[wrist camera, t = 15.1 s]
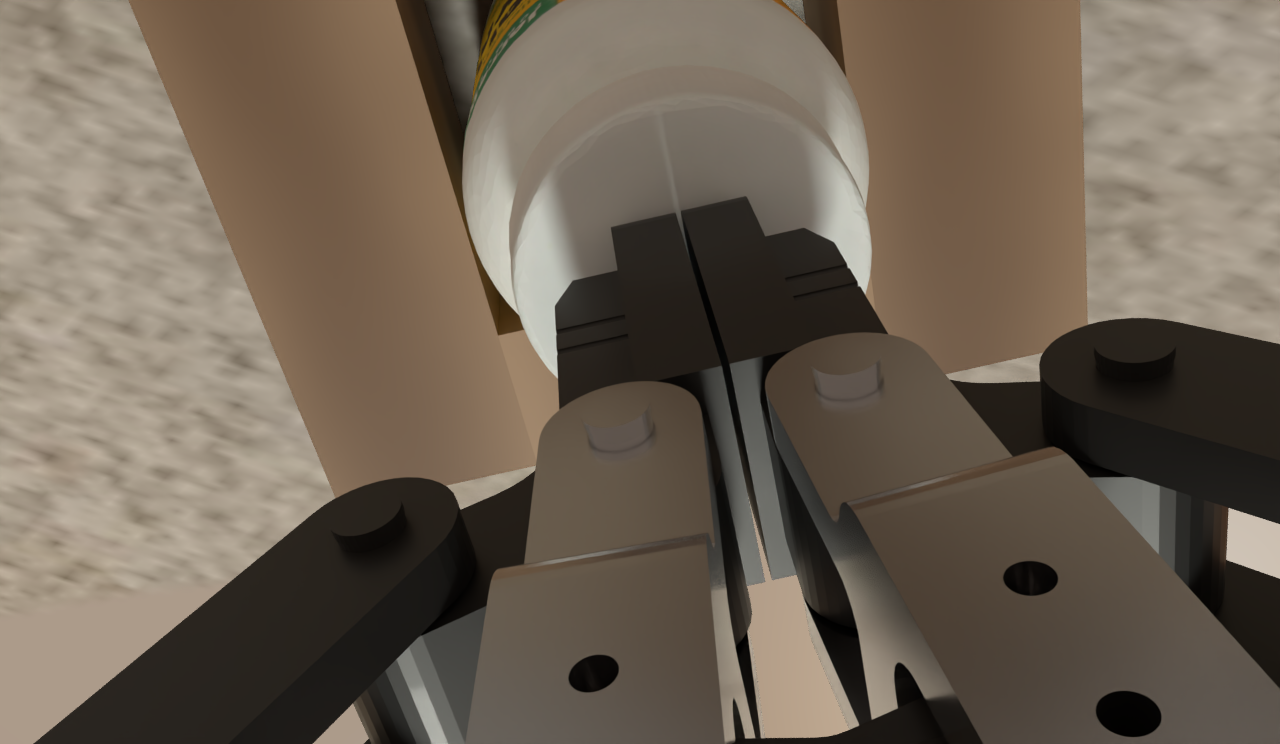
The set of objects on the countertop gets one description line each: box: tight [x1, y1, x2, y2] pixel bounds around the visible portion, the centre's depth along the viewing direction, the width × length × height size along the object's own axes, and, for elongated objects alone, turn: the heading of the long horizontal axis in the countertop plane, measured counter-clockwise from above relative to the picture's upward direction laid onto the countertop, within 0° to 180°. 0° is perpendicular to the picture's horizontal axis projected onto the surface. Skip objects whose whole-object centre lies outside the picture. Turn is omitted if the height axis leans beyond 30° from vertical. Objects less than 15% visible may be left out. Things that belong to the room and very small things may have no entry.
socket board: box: [129, 0, 1088, 498], centre depth 20 cm, size 14×12×3 cm
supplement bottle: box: [462, 0, 872, 379], centre depth 17 cm, size 5×5×10 cm
